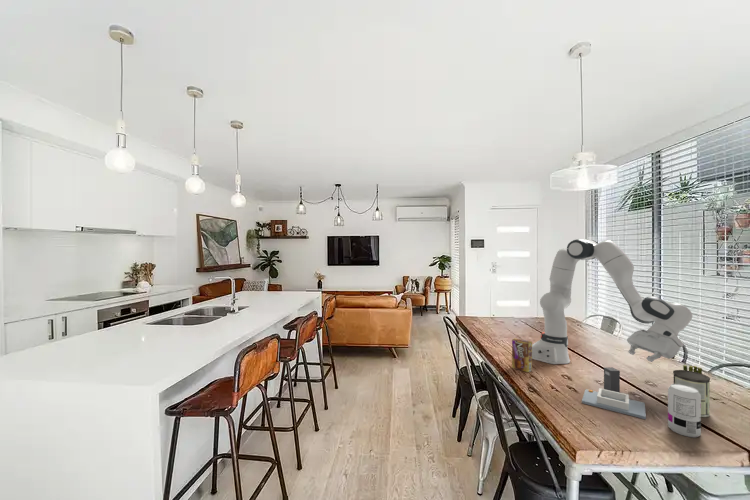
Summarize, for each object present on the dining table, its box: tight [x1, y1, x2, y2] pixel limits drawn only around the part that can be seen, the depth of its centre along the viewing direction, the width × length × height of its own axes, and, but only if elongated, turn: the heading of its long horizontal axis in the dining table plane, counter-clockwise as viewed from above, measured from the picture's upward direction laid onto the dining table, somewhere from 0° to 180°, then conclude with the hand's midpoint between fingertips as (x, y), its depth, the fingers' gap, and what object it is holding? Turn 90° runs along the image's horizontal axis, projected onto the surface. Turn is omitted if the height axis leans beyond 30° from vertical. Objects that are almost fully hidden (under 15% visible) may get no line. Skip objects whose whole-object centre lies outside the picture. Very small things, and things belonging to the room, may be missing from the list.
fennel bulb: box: [682, 364, 703, 374], centre depth 141 cm, size 6×5×12 cm
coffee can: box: [672, 369, 711, 418], centre depth 125 cm, size 10×10×14 cm
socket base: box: [581, 387, 647, 420], centre depth 130 cm, size 20×14×4 cm
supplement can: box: [667, 383, 702, 438], centre depth 111 cm, size 8×8×15 cm
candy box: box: [511, 338, 533, 373], centre depth 168 cm, size 9×4×15 cm, turn 39°
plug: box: [603, 367, 621, 393], centre depth 142 cm, size 4×4×10 cm
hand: (639, 356), depth 142 cm, fingers open, 8 cm apart
